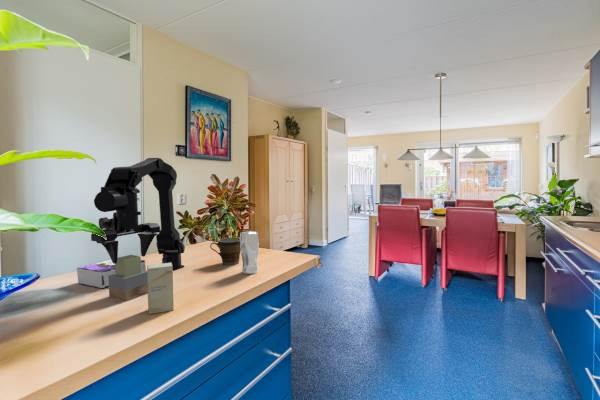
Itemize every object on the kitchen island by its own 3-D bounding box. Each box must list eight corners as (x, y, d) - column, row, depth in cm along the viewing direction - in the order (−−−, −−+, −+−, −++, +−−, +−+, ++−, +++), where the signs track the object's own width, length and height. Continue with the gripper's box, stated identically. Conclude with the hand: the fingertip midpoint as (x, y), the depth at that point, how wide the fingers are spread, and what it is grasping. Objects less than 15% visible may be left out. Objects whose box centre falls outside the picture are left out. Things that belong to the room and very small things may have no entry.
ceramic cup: (241, 259, 136) (240, 236, 135) (244, 265, 126) (243, 240, 126) (210, 262, 132) (209, 239, 131) (211, 268, 123) (210, 243, 122)
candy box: (76, 267, 106) (121, 256, 121) (77, 284, 106) (122, 270, 121) (101, 271, 100) (146, 259, 115) (102, 289, 101) (146, 274, 115)
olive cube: (131, 270, 98) (130, 254, 98) (141, 272, 95) (140, 256, 95) (115, 274, 94) (114, 258, 93) (125, 277, 91) (124, 260, 91)
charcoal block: (134, 279, 100) (133, 268, 100) (150, 282, 97) (149, 271, 96) (109, 286, 93) (108, 275, 93) (125, 290, 90) (124, 278, 89)
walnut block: (134, 289, 101) (133, 279, 100) (150, 293, 97) (150, 282, 97) (109, 298, 93) (108, 286, 93) (126, 302, 90) (125, 290, 90)
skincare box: (148, 315, 80) (146, 269, 79) (148, 308, 84) (146, 264, 83) (174, 310, 83) (172, 265, 82) (173, 304, 87) (171, 261, 86)
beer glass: (263, 270, 118) (262, 231, 117) (251, 275, 112) (249, 234, 111) (249, 268, 122) (248, 230, 121) (236, 273, 116) (235, 233, 115)
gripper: (137, 205, 105) (139, 251, 106) (78, 211, 89) (81, 264, 90) (160, 206, 101) (162, 253, 101) (101, 212, 84) (105, 268, 85)
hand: (129, 259), depth 94 cm, fingers open, 9 cm apart
